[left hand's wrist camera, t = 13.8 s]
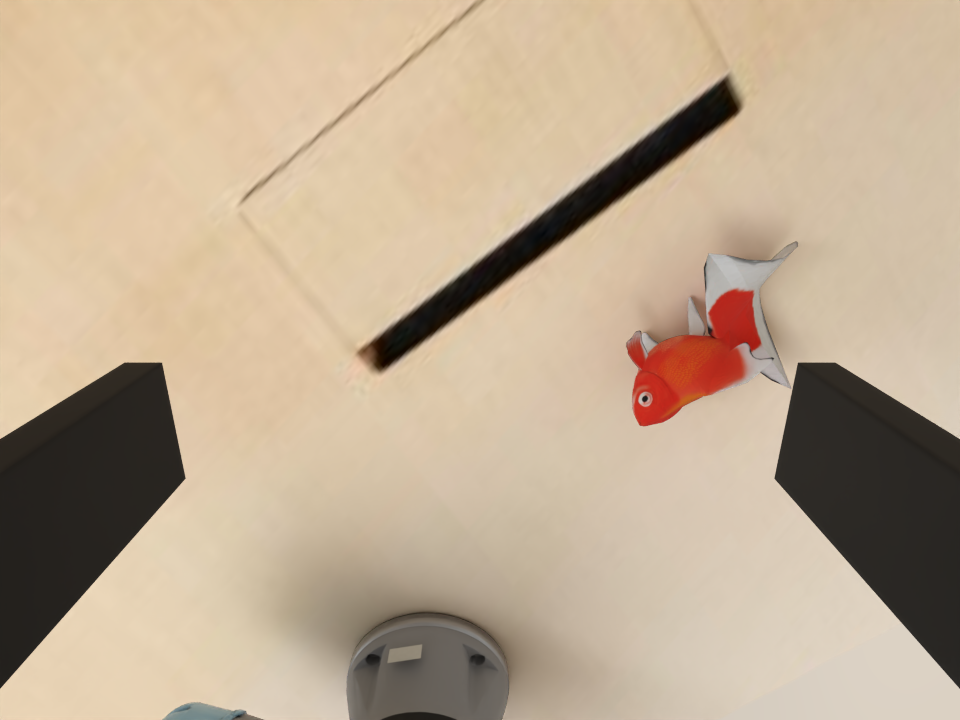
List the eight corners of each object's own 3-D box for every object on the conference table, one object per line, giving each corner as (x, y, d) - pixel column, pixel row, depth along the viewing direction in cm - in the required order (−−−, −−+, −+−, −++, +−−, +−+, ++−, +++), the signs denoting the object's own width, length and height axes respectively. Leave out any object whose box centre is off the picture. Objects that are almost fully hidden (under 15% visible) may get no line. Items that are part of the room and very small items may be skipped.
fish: (560, 313, 39) (678, 371, 31) (717, 187, 42) (857, 211, 35) (600, 417, 45) (706, 486, 37) (733, 300, 49) (855, 342, 41)
